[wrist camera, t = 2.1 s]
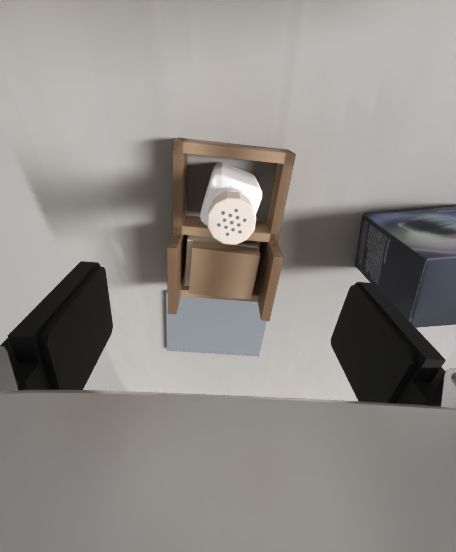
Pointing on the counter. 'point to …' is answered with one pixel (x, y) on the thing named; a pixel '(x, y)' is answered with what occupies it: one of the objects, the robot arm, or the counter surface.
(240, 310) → the slate mat
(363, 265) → the small box
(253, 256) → the block
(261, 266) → the brown wooden frame
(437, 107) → the counter surface
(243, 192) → the pepper shaker
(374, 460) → the robot arm
